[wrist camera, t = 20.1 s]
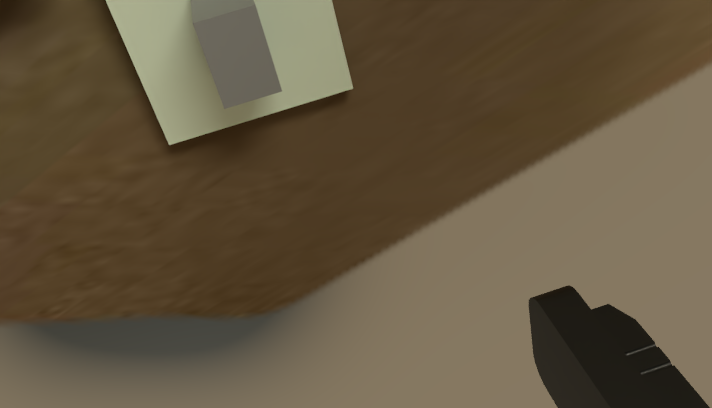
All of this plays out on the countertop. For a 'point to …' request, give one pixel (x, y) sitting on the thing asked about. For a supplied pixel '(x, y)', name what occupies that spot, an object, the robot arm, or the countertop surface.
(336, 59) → the snap lid
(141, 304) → the countertop surface
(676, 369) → the robot arm
